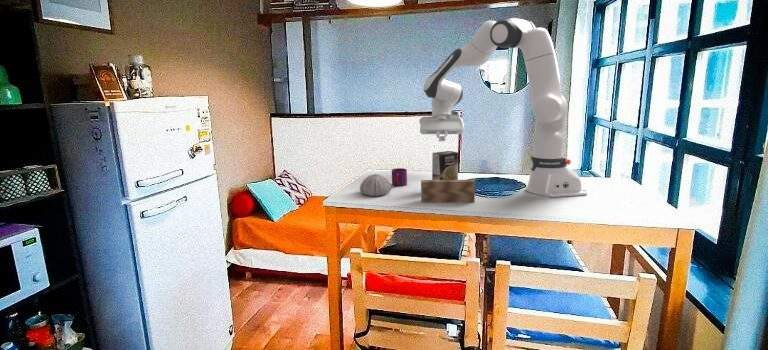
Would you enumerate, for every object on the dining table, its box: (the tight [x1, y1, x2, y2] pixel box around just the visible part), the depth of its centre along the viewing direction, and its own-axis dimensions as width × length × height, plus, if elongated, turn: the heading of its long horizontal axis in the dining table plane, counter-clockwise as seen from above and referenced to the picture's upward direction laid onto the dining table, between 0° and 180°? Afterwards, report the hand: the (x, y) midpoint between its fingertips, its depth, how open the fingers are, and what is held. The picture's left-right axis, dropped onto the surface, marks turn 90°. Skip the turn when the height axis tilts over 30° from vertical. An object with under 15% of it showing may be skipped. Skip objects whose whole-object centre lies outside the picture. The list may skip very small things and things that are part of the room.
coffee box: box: [431, 150, 459, 180], centre depth 166 cm, size 9×6×16 cm
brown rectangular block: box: [420, 179, 476, 203], centre depth 153 cm, size 20×5×8 cm, turn 85°
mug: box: [391, 167, 408, 187], centre depth 176 cm, size 7×10×7 cm
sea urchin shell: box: [359, 173, 392, 197], centre depth 165 cm, size 13×14×8 cm
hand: (442, 140), depth 182 cm, fingers closed
